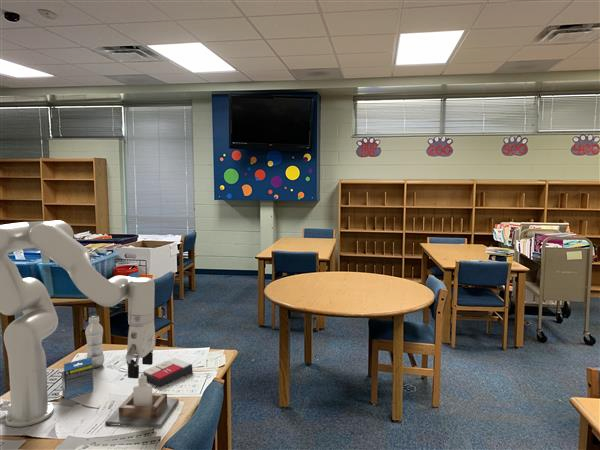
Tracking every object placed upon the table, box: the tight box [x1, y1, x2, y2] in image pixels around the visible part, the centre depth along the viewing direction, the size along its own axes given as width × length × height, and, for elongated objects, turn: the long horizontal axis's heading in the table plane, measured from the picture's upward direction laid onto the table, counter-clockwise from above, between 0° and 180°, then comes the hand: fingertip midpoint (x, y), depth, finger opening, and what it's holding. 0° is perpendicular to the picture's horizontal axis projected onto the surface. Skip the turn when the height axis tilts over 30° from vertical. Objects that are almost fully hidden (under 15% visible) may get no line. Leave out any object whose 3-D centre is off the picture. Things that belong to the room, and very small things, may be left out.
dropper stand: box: [104, 392, 179, 428], centre depth 130 cm, size 17×15×4 cm
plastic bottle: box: [84, 315, 105, 369], centre depth 162 cm, size 6×7×20 cm
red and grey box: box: [141, 357, 193, 388], centre depth 155 cm, size 11×4×15 cm
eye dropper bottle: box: [132, 372, 153, 406], centre depth 129 cm, size 4×6×12 cm
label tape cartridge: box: [61, 357, 94, 400], centre depth 141 cm, size 9×4×12 cm, turn 132°
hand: (140, 370), depth 129 cm, fingers open, 9 cm apart
